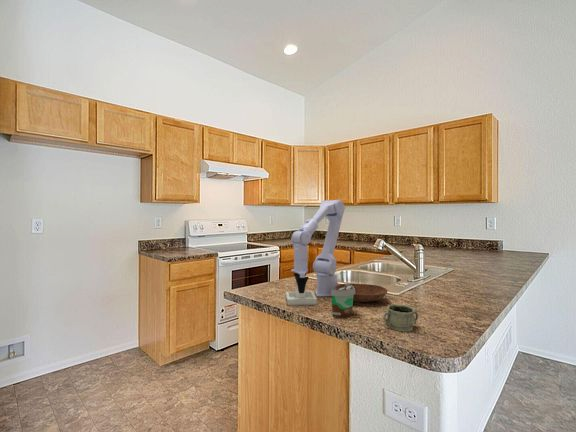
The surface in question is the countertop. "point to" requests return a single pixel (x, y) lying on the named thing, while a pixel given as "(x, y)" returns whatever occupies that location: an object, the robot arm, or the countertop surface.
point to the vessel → (400, 317)
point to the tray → (308, 300)
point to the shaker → (299, 295)
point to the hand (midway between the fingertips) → (300, 291)
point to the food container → (342, 301)
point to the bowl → (366, 292)
